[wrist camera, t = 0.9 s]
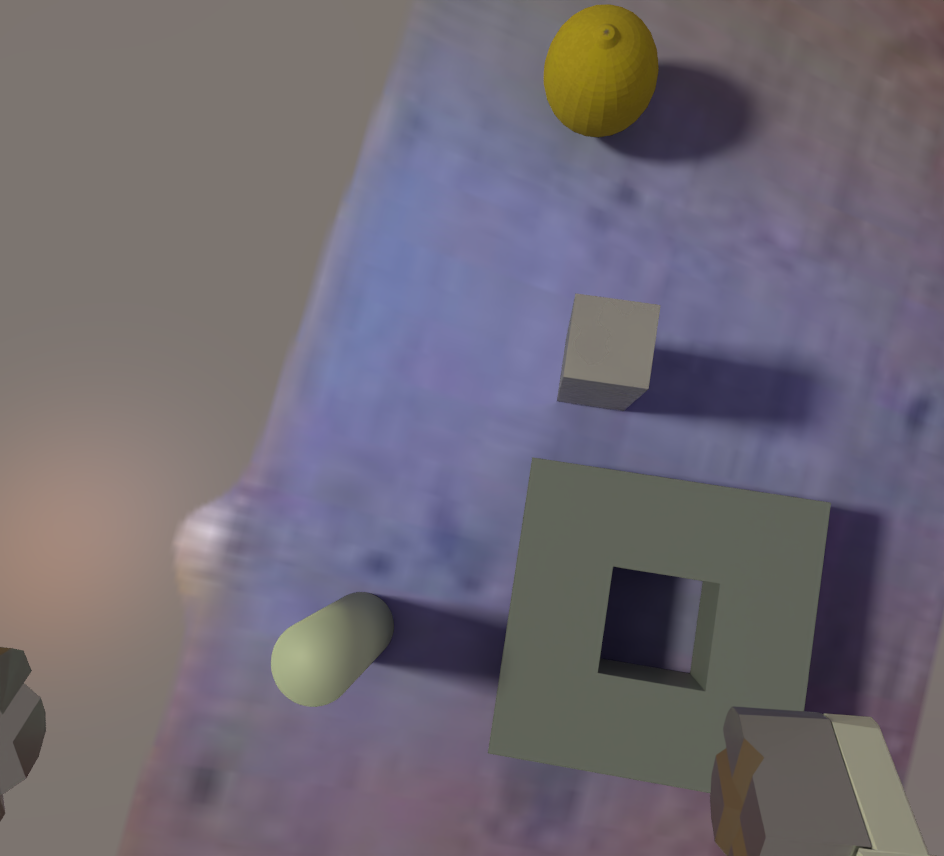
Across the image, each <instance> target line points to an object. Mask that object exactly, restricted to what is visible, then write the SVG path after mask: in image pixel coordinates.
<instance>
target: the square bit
mask: <svg viewBox="0 0 944 856" xmlns="http://www.w3.org/2000/svg"><path fill="white" fill-rule="evenodd" d="M659 312H660V305H656V304H648V303H641V302H634V301H626V300H619V299H612V298H604V297H597V296H590V295H582V294H575V299H574V303H573V308H572V313H571V317H570V322H569V327H568V331H567V336H566V343H565V349H564V356H563V363H562V369H561V376H560V383H559V390H558V396H557V401H558V402H565V403H572V404H579V405H586V406H592V407H599V408H606V409H613V410H620V411H624V410H625V409H626V408H627V407H629V406H630V405H631V404H632V403H633V402H634V401H635V400H637V399H638V398H639V397H640V396H641V395H642V394H643V393H645V392H646V391H647V390H648V389H649V382H650V375H651V368H652V361H653V354H654V347H655V340H656V333H657V326H658V319H659Z"/></svg>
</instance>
